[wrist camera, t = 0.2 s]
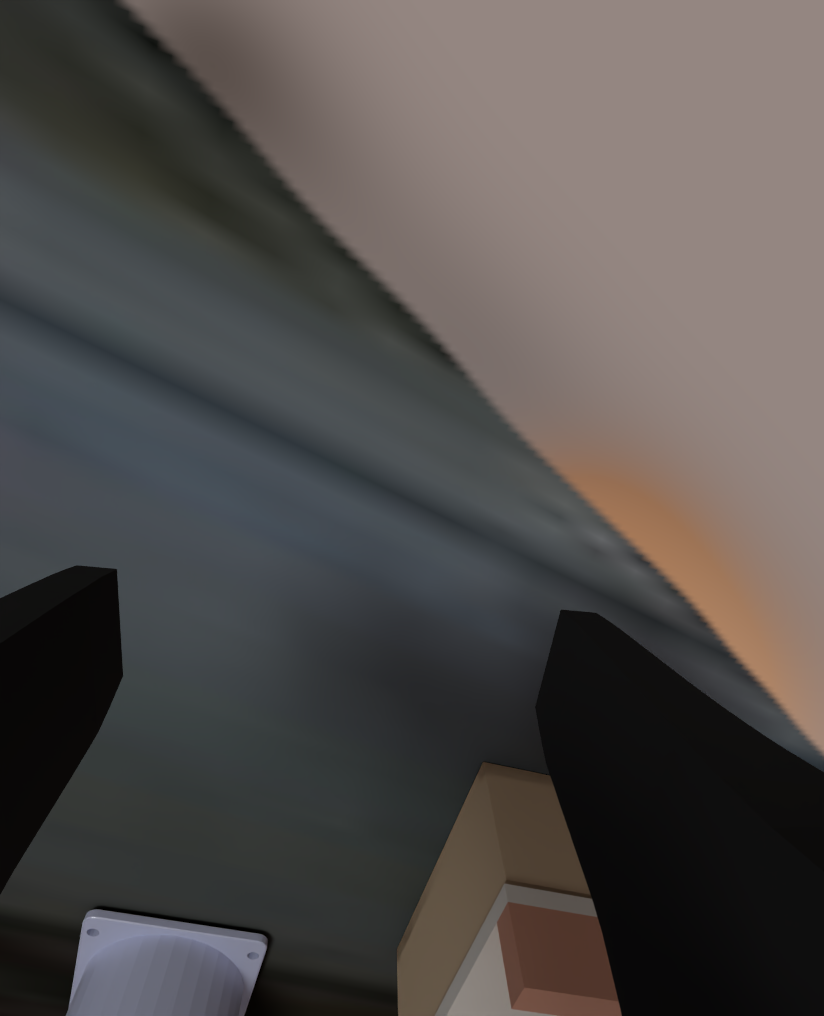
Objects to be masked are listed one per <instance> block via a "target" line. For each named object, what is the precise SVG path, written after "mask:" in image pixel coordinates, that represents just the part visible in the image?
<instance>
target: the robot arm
mask: <svg viewBox="0 0 824 1016" xmlns="http://www.w3.org/2000/svg"><path fill="white" fill-rule="evenodd" d="M122 677H123V668H122V650H121V633H120V616H119V599H118V581H117V569H110V568H99V567H88V566H74V567H71V568H68V569H65V570H63V571H60V572H58V573H55V574H53V575H50V576H48V577H46V578H44V579H41V580H39V581H37V582H35V583H32V584H30V585H28V586H26V587H24V588H22V589H19V590H17V591H15V592H13V593H11V594H9V595H6V596H4V597H2V598H0V894H1V892H2V890H3V889H4V887H5V885H6V883H7V882H8V880H9V878H10V876H11V875H12V873H13V871H14V869H15V868H16V866H17V864H18V863H19V861H20V860H21V858H22V856H23V855H24V853H25V851H26V850H27V848H28V847H29V845H30V843H31V842H32V840H33V838H34V837H35V835H36V834H37V832H38V830H39V829H40V827H41V825H42V824H43V822H44V821H45V819H46V817H47V816H48V814H49V813H50V811H51V809H52V808H53V806H54V804H55V803H56V801H57V800H58V798H59V796H60V795H61V793H62V791H63V790H64V788H65V787H66V785H67V783H68V782H69V780H70V778H71V777H72V775H73V773H74V772H75V770H76V768H77V767H78V765H79V764H80V762H81V760H82V759H83V757H84V755H85V754H86V752H87V750H88V749H89V747H90V745H91V744H92V742H93V740H94V738H95V737H96V735H97V733H98V731H99V729H100V727H101V725H102V723H103V721H104V718H105V716H106V714H107V712H108V710H109V707H110V705H111V703H112V700H113V698H114V696H115V693H116V691H117V689H118V686H119V684H120V682H121V679H122ZM535 708H536V713H537V719H538V724H539V730H540V735H541V740H542V745H543V750H544V755H545V759H546V764H547V767H548V770H549V773H550V776H551V779H552V782H553V785H554V788H555V791H556V794H557V797H558V800H559V803H560V806H561V809H562V812H563V815H564V818H565V821H566V824H567V827H568V830H569V833H570V836H571V839H572V842H573V844H574V847H575V850H576V853H577V856H578V859H579V862H580V865H581V868H582V871H583V874H584V877H585V880H586V883H587V885H588V888H589V891H590V894H591V897H592V900H593V904H594V907H595V910H596V914H597V917H598V921H599V924H600V927H601V931H602V934H603V939H604V943H605V947H606V951H607V955H608V959H609V964H610V968H611V972H612V976H613V980H614V985H615V989H616V993H617V997H618V1001H619V1005H620V1010H621V1014H622V1016H824V772H822V771H821V770H819V769H817V768H816V767H814V766H812V765H811V764H809V763H807V762H806V761H804V760H802V759H801V758H799V757H797V756H796V755H794V754H792V753H791V752H789V751H787V750H786V749H784V748H783V747H781V746H780V745H778V744H777V743H775V742H773V741H772V740H770V739H769V738H767V737H766V736H764V735H763V734H761V733H760V732H758V731H757V730H755V729H754V728H752V727H751V726H749V725H748V724H747V723H745V722H744V721H742V720H741V719H739V718H738V717H736V716H735V715H734V714H732V713H731V712H729V711H728V710H726V709H725V708H723V707H722V706H721V705H719V704H718V703H717V702H715V701H714V700H712V699H711V698H710V697H708V696H707V695H706V694H704V693H703V692H701V691H700V690H699V689H697V688H696V687H695V686H693V685H692V684H691V683H689V682H688V681H687V680H685V679H684V678H683V677H681V676H680V675H679V674H677V673H676V672H675V671H674V670H672V669H671V668H670V667H668V666H667V665H666V664H664V663H663V662H662V661H661V660H659V659H658V658H657V657H655V656H654V655H653V654H652V653H650V652H649V651H648V650H646V649H645V648H644V647H643V646H641V645H640V644H639V643H637V642H636V641H635V640H633V639H632V638H631V637H630V636H628V635H627V634H626V633H624V632H623V631H622V630H620V629H619V628H618V627H616V626H615V625H613V624H612V623H611V622H609V621H608V620H606V619H605V618H603V617H602V616H600V615H598V614H597V613H591V612H580V611H569V610H561V611H560V615H559V619H558V622H557V626H556V630H555V634H554V638H553V642H552V645H551V649H550V653H549V657H548V661H547V665H546V668H545V672H544V676H543V680H542V684H541V688H540V691H539V695H538V699H537V703H536V707H535ZM267 944H268V939H267V938H266V936H264V935H263V934H259V933H252V932H246V931H239V930H233V929H226V928H219V927H213V926H206V925H200V924H193V923H186V922H180V921H173V920H167V919H160V918H153V917H147V916H140V915H134V914H127V913H120V912H114V911H107V910H101V909H94V910H90V911H89V912H87V914H86V916H85V918H84V921H83V924H82V930H81V936H80V942H79V948H78V954H77V961H76V967H75V973H74V979H73V985H72V991H71V998H70V1004H69V1009H68V1012H67V1014H66V1016H244V1015H245V1012H246V1009H247V1006H248V1003H249V1000H250V997H251V994H252V991H253V988H254V985H255V982H256V979H257V976H258V973H259V970H260V968H261V965H262V962H263V959H264V956H265V953H266V950H267Z"/></svg>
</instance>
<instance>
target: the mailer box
mask: <svg viewBox="0 0 824 1016" xmlns="http://www.w3.org/2000/svg"><path fill="white" fill-rule="evenodd" d="M504 884H510V885H516V886H522V887H527V888H533V889H539V890H544V891H550V892H556V893H562V894H567V895H573V896H579V897H584V898H590V899H592V897H591V894H590V891H589V888H588V885H587V883H586V880H585V877H584V874H583V871H582V868H581V865H580V862H579V859H578V856H577V853H576V850H575V847H574V844H573V842H572V839H571V836H570V833H569V830H568V827H567V824H566V821H565V818H564V815H563V812H562V809H561V806H560V803H559V800H558V797H557V794H556V791H555V788H554V785H553V782H552V779H551V776H549V775H545V774H540V773H535V772H530V771H525V770H520V769H516V768H511V767H506V766H501V765H496V764H491V763H487V762H483V763H482V765H481V767H480V770H479V772H478V774H477V776H476V778H475V780H474V783H473V785H472V787H471V789H470V791H469V793H468V796H467V798H466V800H465V802H464V804H463V806H462V809H461V811H460V813H459V815H458V817H457V820H456V822H455V824H454V826H453V828H452V830H451V833H450V835H449V837H448V839H447V841H446V843H445V846H444V848H443V850H442V852H441V854H440V857H439V859H438V861H437V863H436V865H435V867H434V870H433V872H432V874H431V876H430V878H429V880H428V883H427V885H426V887H425V889H424V891H423V894H422V896H421V898H420V900H419V902H418V904H417V907H416V909H415V911H414V913H413V915H412V917H411V920H410V922H409V924H408V926H407V928H406V931H405V933H404V935H403V937H402V939H401V941H400V944H399V946H398V948H397V978H398V1016H435V1014H436V1012H437V1010H438V1008H439V1006H440V1004H441V1003H442V1001H443V999H444V997H445V995H446V993H447V991H448V989H449V987H450V986H451V984H452V982H453V980H454V978H455V976H456V974H457V972H458V970H459V968H460V967H461V965H462V963H463V961H464V959H465V957H466V955H467V953H468V951H469V950H470V948H471V946H472V944H473V942H474V940H475V938H476V936H477V934H478V932H479V931H480V929H481V927H482V925H483V923H484V921H485V919H486V917H487V915H488V914H489V912H490V910H491V908H492V906H493V904H494V902H495V900H496V898H497V896H498V895H499V893H500V891H501V889H502V887H503V885H504Z"/></svg>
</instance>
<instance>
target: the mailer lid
mask: <svg viewBox="0 0 824 1016" xmlns="http://www.w3.org/2000/svg"><path fill="white" fill-rule="evenodd" d="M435 1016H622V1014H621V1010H620V1005H619V1001H618V997H617V993H616V989H615V985H614V980H613V976H612V972H611V968H610V964H609V959H608V955H607V951H606V947H605V943H604V939H603V934H602V931H601V927H600V924H599V921H598V917H597V914H596V910H595V907H594V904H593V900H592V899H590V898H584V897H579V896H573V895H567V894H562V893H556V892H550V891H544V890H539V889H533V888H527V887H522V886H516V885H510V884H504V885H503V887H502V889H501V891H500V893H499V895H498V896H497V898H496V900H495V902H494V904H493V906H492V908H491V910H490V912H489V914H488V915H487V917H486V919H485V921H484V923H483V925H482V927H481V929H480V931H479V932H478V934H477V936H476V938H475V940H474V942H473V944H472V946H471V948H470V950H469V951H468V953H467V955H466V957H465V959H464V961H463V963H462V965H461V967H460V968H459V970H458V972H457V974H456V976H455V978H454V980H453V982H452V984H451V986H450V987H449V989H448V991H447V993H446V995H445V997H444V999H443V1001H442V1003H441V1004H440V1006H439V1008H438V1010H437V1012H436V1014H435Z"/></svg>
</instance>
